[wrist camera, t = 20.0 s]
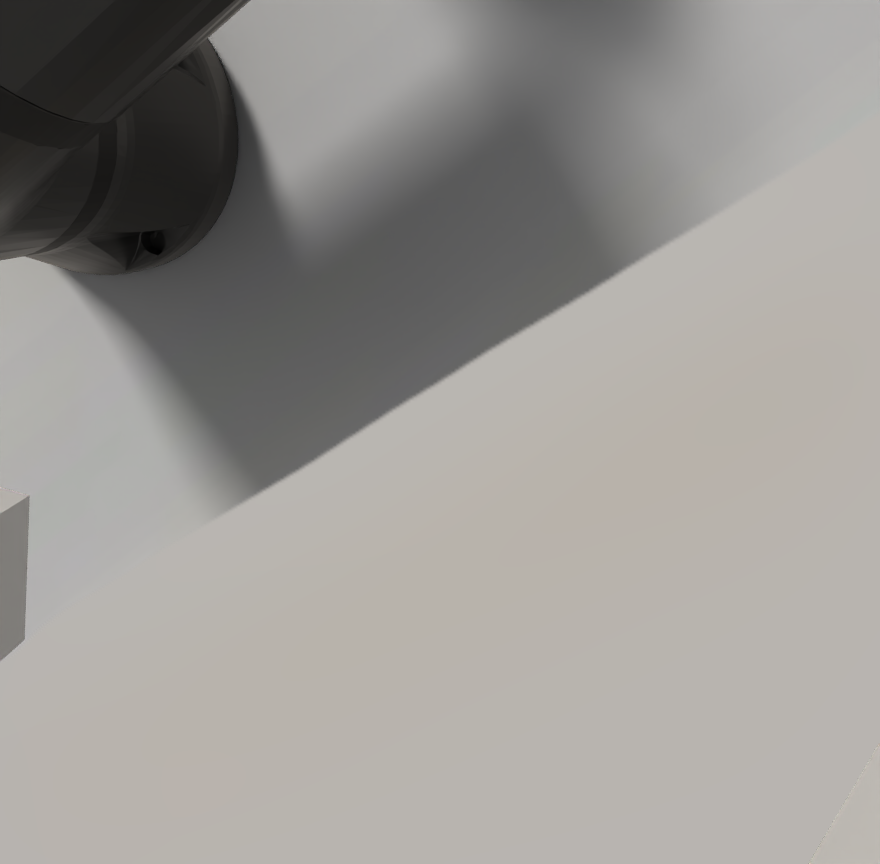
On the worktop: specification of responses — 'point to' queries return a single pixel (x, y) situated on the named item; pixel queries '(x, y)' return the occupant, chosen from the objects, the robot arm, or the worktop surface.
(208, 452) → the worktop surface
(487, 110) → the worktop surface
